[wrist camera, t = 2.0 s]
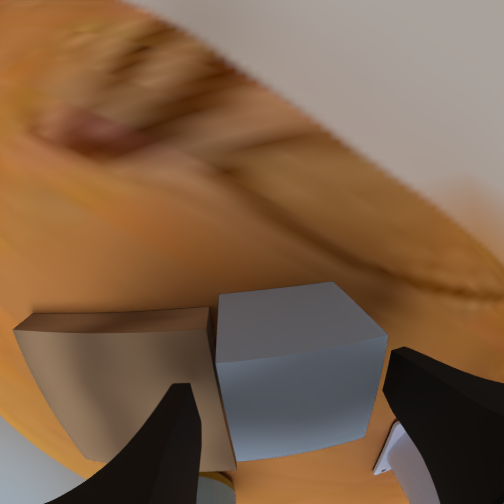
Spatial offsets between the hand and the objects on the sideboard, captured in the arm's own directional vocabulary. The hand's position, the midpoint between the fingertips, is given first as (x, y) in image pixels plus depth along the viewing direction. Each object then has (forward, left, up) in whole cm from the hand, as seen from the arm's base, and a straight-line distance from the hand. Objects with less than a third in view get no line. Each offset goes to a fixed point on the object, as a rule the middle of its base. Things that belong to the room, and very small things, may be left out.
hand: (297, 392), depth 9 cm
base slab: (+8, +3, -4) cm, 9 cm away
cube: (0, 0, -4) cm, 4 cm away
